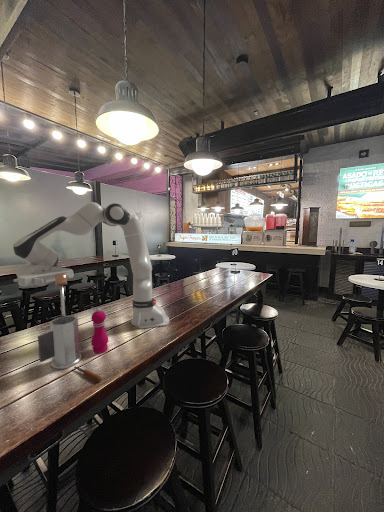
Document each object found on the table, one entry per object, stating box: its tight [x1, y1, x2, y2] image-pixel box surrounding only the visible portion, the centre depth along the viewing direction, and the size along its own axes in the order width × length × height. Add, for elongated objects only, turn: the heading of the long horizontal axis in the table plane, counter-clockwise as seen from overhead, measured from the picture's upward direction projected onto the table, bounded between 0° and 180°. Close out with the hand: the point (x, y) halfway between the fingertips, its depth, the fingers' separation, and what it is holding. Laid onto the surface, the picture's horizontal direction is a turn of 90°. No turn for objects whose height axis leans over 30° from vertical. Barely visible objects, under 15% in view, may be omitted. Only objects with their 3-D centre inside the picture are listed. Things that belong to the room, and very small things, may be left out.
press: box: [37, 315, 82, 371], centre depth 88 cm, size 11×14×18 cm
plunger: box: [54, 274, 68, 324], centre depth 87 cm, size 6×6×26 cm
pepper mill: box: [90, 307, 109, 354], centre depth 98 cm, size 7×7×20 cm
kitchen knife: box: [73, 365, 102, 383], centre depth 82 cm, size 16×1×2 cm, turn 61°
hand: (56, 279), depth 88 cm, fingers open, 8 cm apart
